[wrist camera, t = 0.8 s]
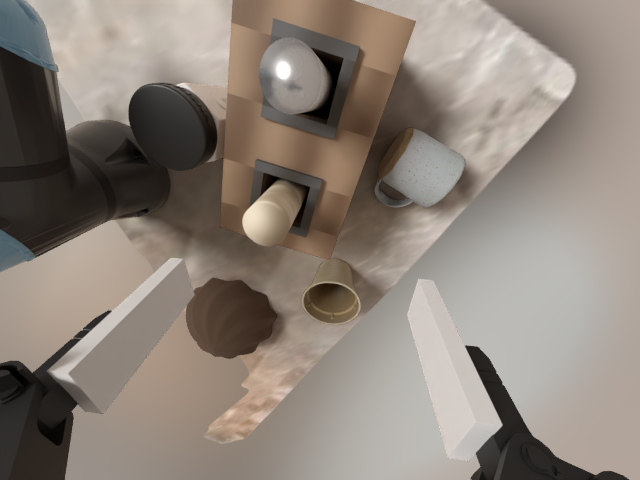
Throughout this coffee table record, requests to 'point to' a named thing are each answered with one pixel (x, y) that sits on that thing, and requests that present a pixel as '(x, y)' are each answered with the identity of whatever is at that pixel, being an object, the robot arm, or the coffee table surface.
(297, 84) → the peg steel
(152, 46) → the coffee table surface
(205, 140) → the jar
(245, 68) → the walnut block
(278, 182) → the peg ash
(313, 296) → the flower pot
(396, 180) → the ceramic mug
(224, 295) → the decorative dome
